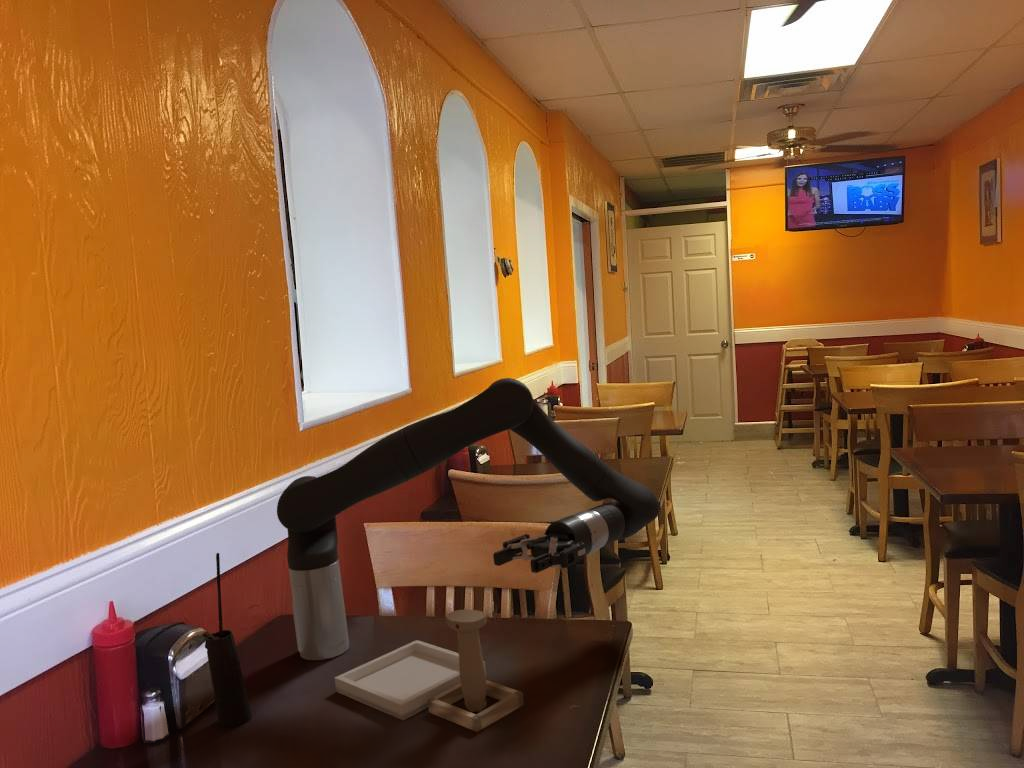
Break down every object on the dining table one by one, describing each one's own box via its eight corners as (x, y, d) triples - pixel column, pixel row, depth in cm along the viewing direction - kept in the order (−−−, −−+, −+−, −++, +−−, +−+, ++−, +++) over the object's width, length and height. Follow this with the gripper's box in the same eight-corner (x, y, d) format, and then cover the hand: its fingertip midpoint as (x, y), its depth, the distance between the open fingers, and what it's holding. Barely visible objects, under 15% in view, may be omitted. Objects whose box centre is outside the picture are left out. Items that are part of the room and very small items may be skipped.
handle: (484, 719, 131) (473, 624, 129) (450, 711, 134) (439, 618, 133) (501, 705, 135) (491, 612, 133) (468, 698, 138) (458, 607, 137)
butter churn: (185, 729, 138) (160, 558, 135) (232, 702, 146) (210, 541, 143) (223, 739, 133) (198, 563, 130) (270, 711, 141) (248, 544, 138)
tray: (336, 691, 146) (334, 677, 145) (418, 653, 158) (417, 639, 158) (403, 720, 133) (401, 705, 133) (486, 676, 146) (484, 661, 146)
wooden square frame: (429, 712, 135) (427, 700, 135) (475, 687, 142) (474, 675, 142) (477, 732, 127) (475, 719, 127) (523, 704, 134) (522, 692, 134)
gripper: (544, 511, 156) (480, 536, 145) (606, 519, 146) (543, 546, 135) (549, 551, 157) (485, 579, 146) (611, 561, 147) (548, 592, 136)
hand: (513, 563), depth 140 cm, fingers open, 8 cm apart
